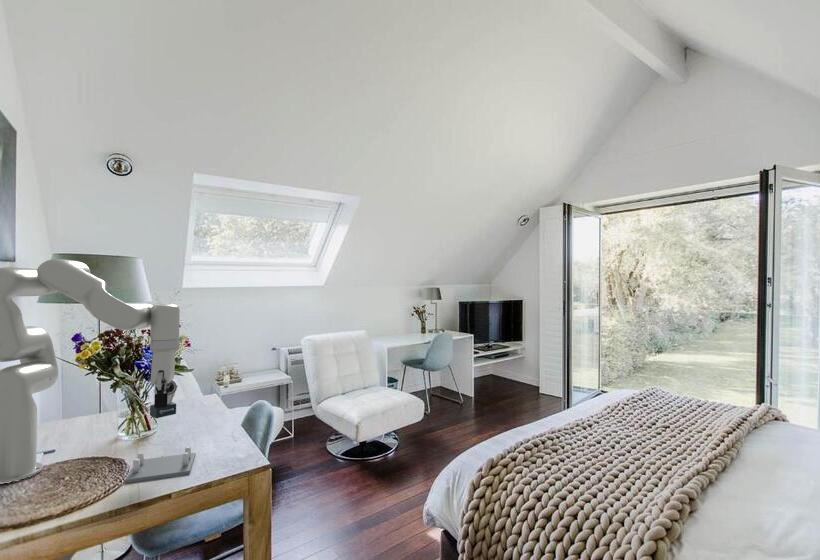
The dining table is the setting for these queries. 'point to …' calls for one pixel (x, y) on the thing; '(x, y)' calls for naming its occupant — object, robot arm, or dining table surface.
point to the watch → (170, 405)
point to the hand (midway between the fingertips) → (163, 403)
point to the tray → (161, 466)
